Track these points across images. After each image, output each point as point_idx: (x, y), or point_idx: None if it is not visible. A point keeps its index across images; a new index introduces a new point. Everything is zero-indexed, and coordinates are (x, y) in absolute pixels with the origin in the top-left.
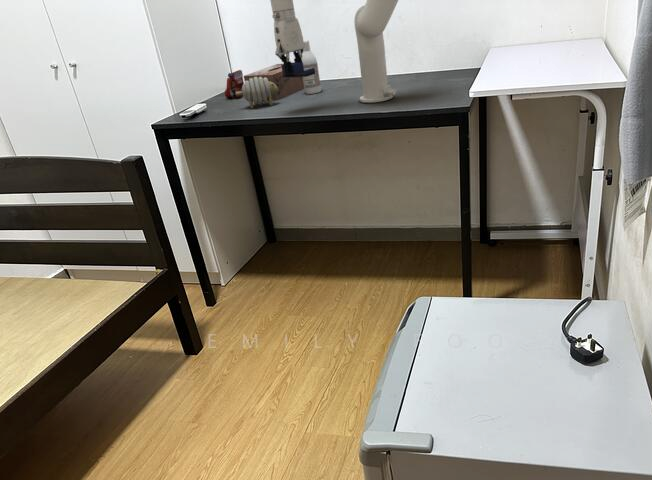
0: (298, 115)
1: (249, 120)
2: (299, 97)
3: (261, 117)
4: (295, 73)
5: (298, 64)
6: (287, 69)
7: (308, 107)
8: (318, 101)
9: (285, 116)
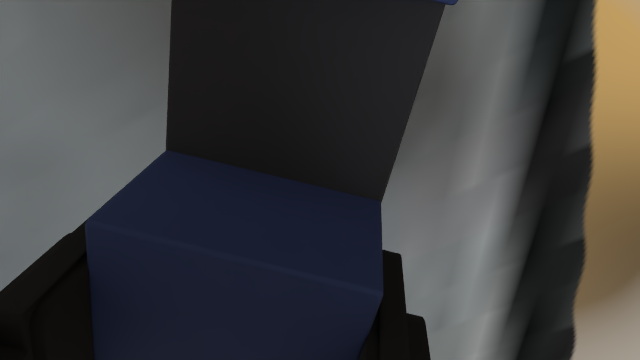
0: (463, 58)
1: (519, 332)
2: (18, 273)
3: (462, 295)
4: (373, 203)
5: (237, 244)
6: (420, 343)
7: None
8: (75, 100)
9: (472, 151)
